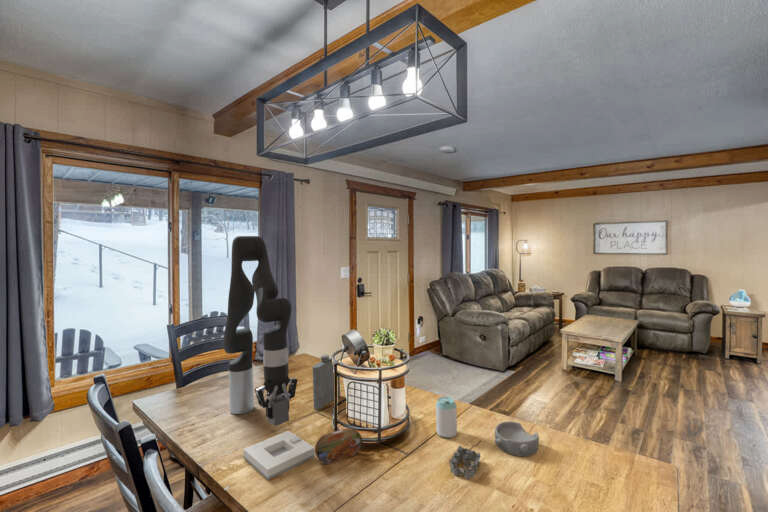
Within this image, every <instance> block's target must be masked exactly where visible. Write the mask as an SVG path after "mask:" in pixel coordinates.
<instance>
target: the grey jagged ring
mask: <svg viewBox="0 0 768 512" xmlns="http://www.w3.org/2000/svg"><path fill="white" fill-rule="evenodd" d="M461 459H462V463H463V466H464V467H466V468H464V467H463V468H462V467H458V465H460V464H461ZM480 460H481V453H480V452H476V451H475V450H471V449H469V448H467V447H466V448H464V447H463V446H461V445H459V446H458V447H457V450H456V451H455V452H454V453H453V455H452V456H451V458H450V459H449V460H448V461H449V462H448V464H449V467H450V473H452V474H453V476H455V477H458V476H464V479H466V480H469V479H474V478H475V472H477V471H478V466H480V463H481V462H480ZM472 462H473V463H472Z"/></svg>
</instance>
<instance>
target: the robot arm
mask: <svg viewBox="0 0 768 512" xmlns="http://www.w3.org/2000/svg"><path fill="white" fill-rule="evenodd" d="M255 261H257V262H258V265H257V266H256V268H255V270H254V271H253V274H252V277H251V281H250V279H249V278H248V276H247V275H246V274H245V271H244V269H243V262H255ZM228 290H229V291H228V299H227V314H226V316H227V317H226V323H225V328H224V334H223V341H222V342H223V343H222V345H223V350H224V352H225V353H226V354H229V355H231V354H237V353H240V355H239V356H236V357H235V358H234V359H232V360H231V361H230V362H229V363H228V387H229V390H228V391H229V411H230V413H231V414H232V415H243V414H247V413H250V412H251V411H253V410H254V408H255V402H254V401H255V397H254V393H255V396H256V399H257V403H258V405H259V406H260V407H262V408H264V409H265V416H266V418H267V417H268V418H269V419H272V418H273V414H272V403H273V400H274V399H275V396H276V395H278V394H281V395H282V396H283V397H285V398H287V399H288V408H289V409H290V400H291V399H292V398H293V399H294V398H295V395H296V391H297V385H298V379H297V378H296V377H289V373H290V369H289V351H288V342H287V341H288V339H287V338H288V335H287V334H288V327H289V322H290V319H291V315H292V309H293V308H292V304H291V302H290V301H289V299H288V298H285V297H281V298H280V297H279V298H277V297H278V295H279V288H278V286H277V284H276V281H275V279H274V276H273V274H272V270H271V264H270V260H269V255H268V250H267V246H266V242H265V241H264V239H263V237H262V236H259V235H236V236H235V237H234V238H233V239H232V244H231V273H230V283H229V289H228ZM255 297H256V317H257V319H258V321H260V322H262V323H266V324H267V323H272V322H276V324H275V325H274V326H273V327H271V328H267V329H266V330H264V331H263V336H262V339H263V354H262V355H263V358H262V360H263V379H264V381H263V385H262V386H260V387H256V388H255V389H254V372H253V370H254V368H253V367H254V366H253V363H254V361H253V360H254V358H253V357H254V355H253V353H254V352H253V350H254V349H253V348H254V346H253V345H254V337H253V332H252V330H251V329H250V328H247V327H246V328H239V329H238V327H239V325H240V323H241V322H242V321H243V320H244V318H246V316H247V315H248V314H249V313H250V311H251V310H252V308H253V306H254V299H255ZM287 387H288V389H287ZM265 391H266V394H265ZM264 395H265V397H264Z"/></svg>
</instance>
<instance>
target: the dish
mask: <svg viewBox="0 0 768 512" xmlns="http://www.w3.org/2000/svg"><path fill="white" fill-rule="evenodd" d="M539 443H540V438H539V433H538V432H534V434H532V435H531V434H529V433H528V432H527V431H526V430H525V428H524V427H523V426H522V424H521V422H517V421H513V420H512V421H503V422H500V423H498V424H497V425H496V426H495V429H494V444H495V445H496V446H497V447H498V448H499V449H500V450H501V451H502V452H505V453H507V454H509V455H512V456H517V457H529V456H532V455H534V454H536V453H537V451H538V449H539V445H540V444H539Z"/></svg>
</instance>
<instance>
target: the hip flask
mask: <svg viewBox="0 0 768 512" xmlns="http://www.w3.org/2000/svg"><path fill="white" fill-rule="evenodd" d="M320 359H321V361H319V362H317V363H316V364H313V365H312V391H313V392H312V396H313V397H312V398H313V410H314V409H316V410H315V411H318V410H317V409H320V410H321V409H323V408H324V407H325V406H327V405H328V404H330V403H332V402H333V401H335V400H334V373H333V365H332V357H330V355H329V354H322V355H321V356H320ZM339 396H340V397H341V377H339V376H338V399H340V398H339ZM332 400H333V401H332ZM329 402H330V403H329ZM327 403H328V404H327ZM326 404H327V405H326ZM324 405H325V406H324ZM323 406H324V407H323Z"/></svg>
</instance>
